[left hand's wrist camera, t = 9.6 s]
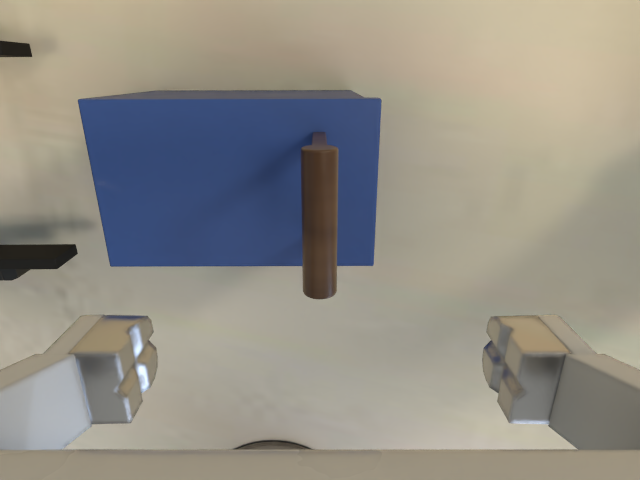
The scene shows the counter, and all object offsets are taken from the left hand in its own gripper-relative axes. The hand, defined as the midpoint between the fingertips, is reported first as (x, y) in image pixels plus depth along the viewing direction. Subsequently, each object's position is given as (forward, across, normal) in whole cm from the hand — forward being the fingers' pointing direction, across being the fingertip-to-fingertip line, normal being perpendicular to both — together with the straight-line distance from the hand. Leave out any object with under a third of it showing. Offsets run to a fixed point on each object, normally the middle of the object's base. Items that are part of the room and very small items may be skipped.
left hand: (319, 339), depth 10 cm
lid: (+15, -5, 0) cm, 16 cm away
